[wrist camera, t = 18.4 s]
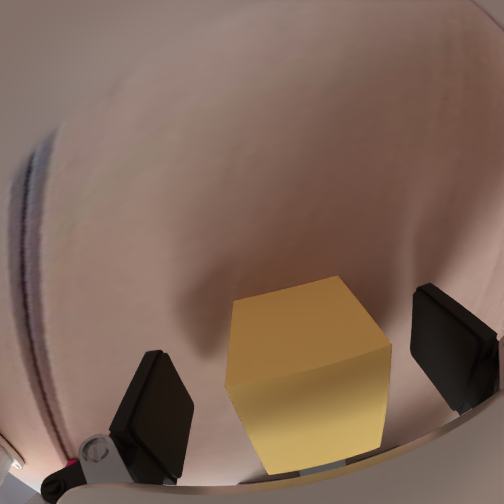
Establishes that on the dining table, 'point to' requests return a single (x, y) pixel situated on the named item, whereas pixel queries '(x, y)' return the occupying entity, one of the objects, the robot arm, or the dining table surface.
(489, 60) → the dining table surface
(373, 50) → the dining table surface
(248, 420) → the yellow tipped gray bar
